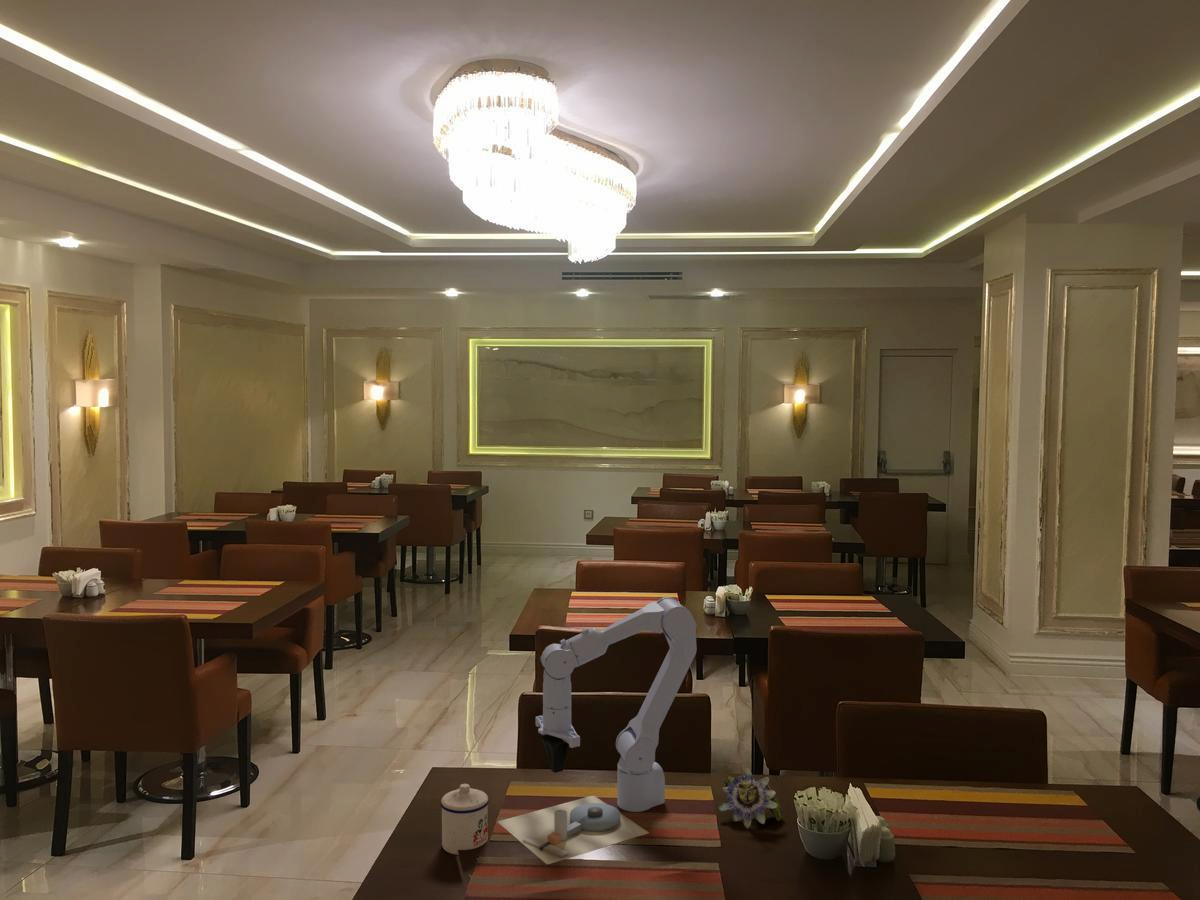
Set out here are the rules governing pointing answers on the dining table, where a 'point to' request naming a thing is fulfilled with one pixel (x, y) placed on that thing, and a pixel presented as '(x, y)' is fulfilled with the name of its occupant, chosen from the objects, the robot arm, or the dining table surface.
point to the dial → (584, 820)
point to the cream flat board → (541, 823)
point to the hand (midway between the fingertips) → (557, 770)
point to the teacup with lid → (464, 819)
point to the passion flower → (749, 799)
